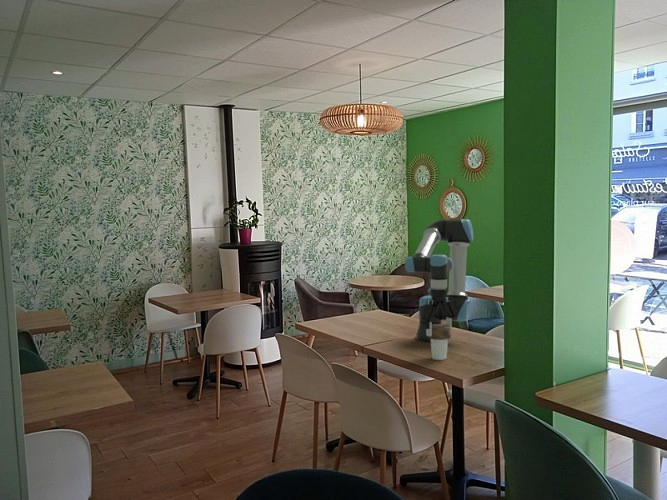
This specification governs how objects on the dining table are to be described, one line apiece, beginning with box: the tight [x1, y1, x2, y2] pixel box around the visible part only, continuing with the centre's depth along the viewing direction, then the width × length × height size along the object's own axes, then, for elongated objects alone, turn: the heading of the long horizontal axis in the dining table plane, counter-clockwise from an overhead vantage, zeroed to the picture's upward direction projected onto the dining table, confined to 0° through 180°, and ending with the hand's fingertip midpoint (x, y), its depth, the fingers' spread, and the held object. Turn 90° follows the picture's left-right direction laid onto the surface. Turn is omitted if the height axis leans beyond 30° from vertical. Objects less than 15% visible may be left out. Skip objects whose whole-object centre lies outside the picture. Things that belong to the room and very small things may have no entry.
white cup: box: [430, 339, 449, 361], centre depth 258 cm, size 8×8×10 cm
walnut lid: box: [428, 323, 452, 340], centre depth 257 cm, size 10×10×5 cm
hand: (439, 333), depth 257 cm, fingers open, 13 cm apart
